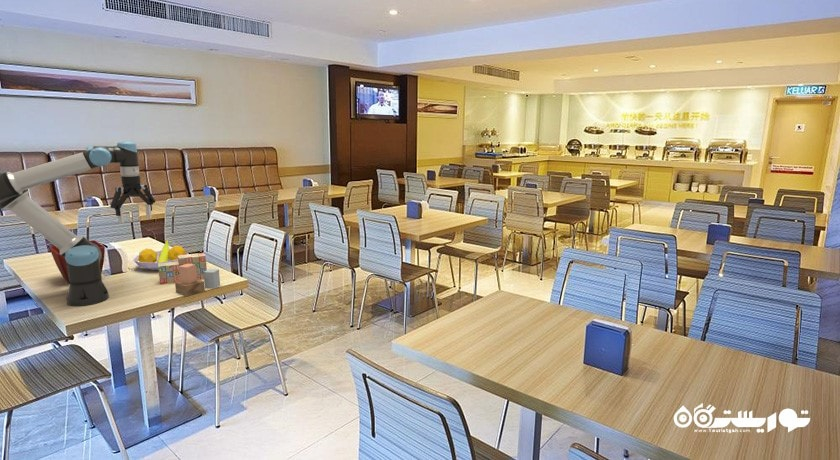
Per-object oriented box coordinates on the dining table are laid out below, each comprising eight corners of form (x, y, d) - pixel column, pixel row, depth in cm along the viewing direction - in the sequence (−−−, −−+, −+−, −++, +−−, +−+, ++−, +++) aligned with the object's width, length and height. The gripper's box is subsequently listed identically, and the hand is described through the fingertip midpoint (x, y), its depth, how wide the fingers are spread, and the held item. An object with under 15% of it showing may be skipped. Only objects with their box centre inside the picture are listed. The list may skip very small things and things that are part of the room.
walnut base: (186, 296, 213) (185, 286, 212) (176, 292, 218) (175, 282, 217) (204, 291, 220) (204, 281, 219) (194, 287, 225) (193, 277, 224)
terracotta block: (189, 284, 215) (187, 267, 213) (180, 283, 217) (178, 266, 215) (197, 280, 220) (195, 264, 218) (188, 279, 221) (186, 263, 219)
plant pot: (62, 287, 221) (57, 253, 218) (54, 278, 234) (48, 246, 230) (109, 279, 235) (105, 246, 232) (98, 270, 248) (94, 240, 244)
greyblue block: (214, 288, 224) (213, 272, 222) (204, 287, 225) (203, 271, 223) (220, 285, 229) (218, 269, 227) (210, 284, 229) (209, 268, 228)
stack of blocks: (159, 284, 228) (157, 260, 225) (159, 281, 233) (157, 257, 231) (207, 278, 238) (205, 255, 236) (206, 275, 244) (204, 252, 241)
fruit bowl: (174, 274, 245) (172, 253, 242) (123, 273, 245) (120, 252, 243) (200, 259, 272) (198, 240, 269) (154, 258, 272) (152, 239, 270)
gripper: (107, 178, 205) (113, 225, 209) (160, 173, 227) (164, 216, 231) (97, 177, 208) (103, 223, 213) (150, 173, 230) (154, 215, 235)
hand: (135, 220), depth 222 cm, fingers open, 13 cm apart
